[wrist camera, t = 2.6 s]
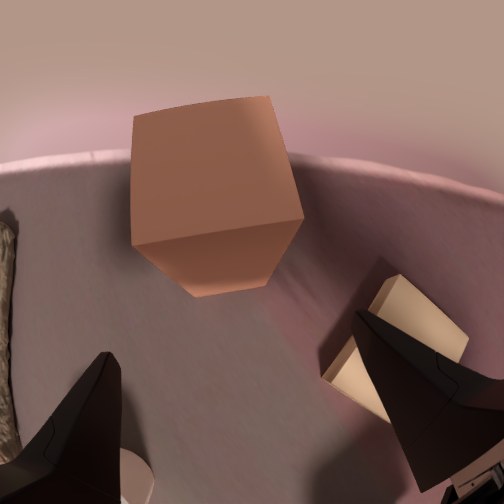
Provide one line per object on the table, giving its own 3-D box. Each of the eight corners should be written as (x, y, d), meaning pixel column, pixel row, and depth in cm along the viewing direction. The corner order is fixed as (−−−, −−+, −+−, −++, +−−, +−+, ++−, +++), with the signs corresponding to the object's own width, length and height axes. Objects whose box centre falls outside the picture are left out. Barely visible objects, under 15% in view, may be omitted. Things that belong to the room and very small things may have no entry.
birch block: (397, 428, 20) (414, 437, 17) (319, 377, 21) (330, 383, 18) (449, 339, 22) (469, 338, 19) (383, 280, 23) (399, 273, 21)
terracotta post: (264, 286, 22) (304, 218, 9) (195, 297, 22) (131, 245, 8) (252, 220, 24) (269, 95, 10) (186, 231, 23) (133, 116, 10)
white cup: (117, 427, 19) (79, 455, 12) (177, 481, 18) (158, 525, 11) (79, 460, 17) (40, 487, 10) (132, 510, 16) (107, 548, 9)
